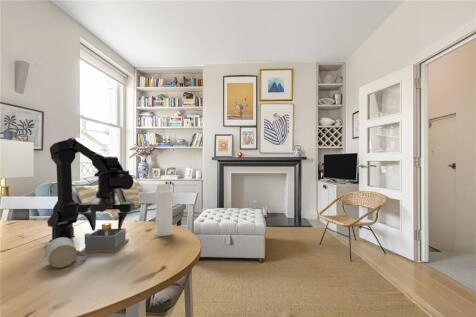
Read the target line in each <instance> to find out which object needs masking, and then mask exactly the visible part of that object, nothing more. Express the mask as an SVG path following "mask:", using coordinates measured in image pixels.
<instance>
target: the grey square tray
mask: <svg viewBox="0 0 476 317" xmlns="http://www.w3.org/2000/svg"><path fill="white" fill-rule="evenodd" d="M126 230H127V229H126V228H125V227H124V228H122V227H121V229H120V230H118V228H111V230H108V236H105V231H102V228H98V229H97V230H96V229H95V230H94V231H93V232H90V233H89V232H88V233H84V248H83V249H81V250H80V251H81V252H84V253H86V254H105V253H108V254H109V253H118V252H119V251H120V250H121V249H122V248H124V246H126V244H127V243H128V242H129V241H130V239H129V238H126V237H127V236H126Z"/></svg>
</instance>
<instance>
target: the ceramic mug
mask: <svg viewBox="0 0 476 317" xmlns="http://www.w3.org/2000/svg"><path fill="white" fill-rule="evenodd" d="M44 252H45V257H46V259H47V262H48V263H49V265H50V266H51V267H53V268H54V269H55V268H56V269H62V268H67V267H69V266H70V265H71V264H73V262H74V261H76V262H85V261H86V260H87V257H88V253H84V252H81V250H78V249H77V247H76V246H75V243H74V241H73V240H72V239H69V238H66V237H60V238H57V239H54V240H53V241H51V242H49V243H48V245H47V246H46V247H45V251H44Z"/></svg>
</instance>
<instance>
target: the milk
mask: <svg viewBox="0 0 476 317" xmlns="http://www.w3.org/2000/svg"><path fill="white" fill-rule="evenodd" d="M156 187H157V188H156V190H155V234H156V236H157V237H159V238H160V237H165V236H166V237H167V236H172V235H173V190H172V184H171V183H168V184H167V183H163V184H157V185H156Z"/></svg>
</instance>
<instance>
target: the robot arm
mask: <svg viewBox="0 0 476 317" xmlns="http://www.w3.org/2000/svg"><path fill="white" fill-rule="evenodd" d="M49 152H50V158H51V160H52V161H53V162H54V164H55V165H56V166H55V167H56V184H57V186H56V187H57V190H56V191H57V201H56V203H55V204H54V206H53V208H52V214H51V216H49V218H48V220H47V221H46V222H47V227H50V228H51V239H50V240H49V241H48V242H49V243H50V242H51V241H53V240H54V239H57V238H60V237H66V238H69V239H71V240H72V239H73V238H75V227H74V226H73V224H74V223H75V224H77V221H78V218H79V215H82V216H84V217H85V218H86V219H87V221H88V223H89V225H90V226H89V227H91V230H92V231H93V232H94V231H96V227H97V226H96V222H97V212H99V213H104V212H106V211H108V210H109V211H110V210H118V211H119V212H117V215H118V222H117V229H118V230H120V229H121V228H122V227H123V224H124V221H125V220H126V219H125V218H126V217H127V215H129V213H130V212H132V211H133V210H135V209H136V207H135V203H134V202H133V201H123V202H121V203H120V204H117V200H116V194H117V190H125V191H126V190H130V189H131V188H132V187H133V186H134V178H133V176H132V175H131V174H130V170H124V168H123V166H122V164H121V163H120V161H119V158H118V157H117V156H116V155H113V154H110V153H107V152H103V151H101V150H99V149H98V148H96V147H95V146H93V145H92V144H90V143H89V142H88V141H86V140H85V139H83V138H81V137H70V138H67V139H65V140H61V141H57V142H54V143H53V144H52V145H50V147H49ZM77 153H80V154H81V155H83V156H84V157H86V158H88V159H89V160H90V161H91V164H92V166H93V167H94V168H95V169H97V172H95V173H94V175H93V176H94V177H97V179H98V182H97V184H98V185H97V191H96V194H95V195H96V196H95V198H93V199H92V200H91V201H90V202H83V203H81V204H79V202H77V201H75V200H74V198H73V197H74V196H73V176H72V164H73V162H74V160H75V159H76V154H77Z"/></svg>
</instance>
